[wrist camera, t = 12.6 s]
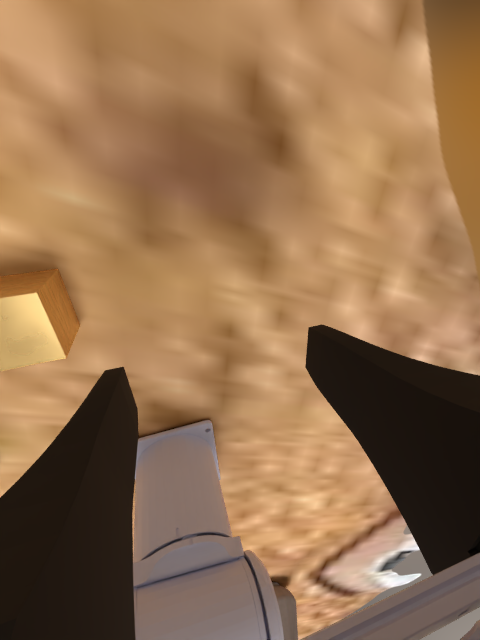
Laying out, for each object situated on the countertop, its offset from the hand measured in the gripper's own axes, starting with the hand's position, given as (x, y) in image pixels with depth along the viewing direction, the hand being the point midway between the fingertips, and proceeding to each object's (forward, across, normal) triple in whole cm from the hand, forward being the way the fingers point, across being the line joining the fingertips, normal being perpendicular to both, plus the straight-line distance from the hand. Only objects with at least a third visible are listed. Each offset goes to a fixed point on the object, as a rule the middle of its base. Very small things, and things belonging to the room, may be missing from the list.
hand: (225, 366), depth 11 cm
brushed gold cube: (+10, +10, 0) cm, 15 cm away
